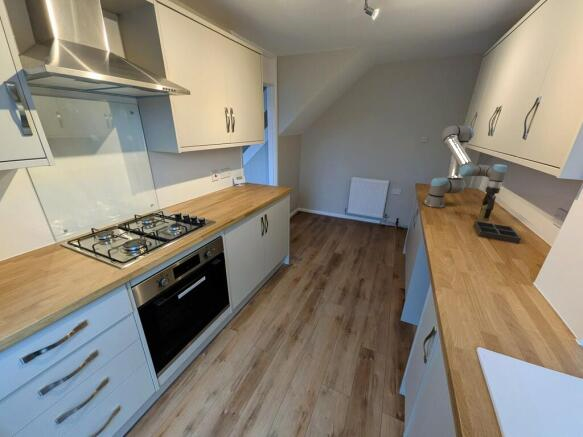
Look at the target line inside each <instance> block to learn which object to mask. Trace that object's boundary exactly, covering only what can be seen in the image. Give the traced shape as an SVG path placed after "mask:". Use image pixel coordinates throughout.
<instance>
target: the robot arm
mask: <svg viewBox="0 0 583 437" xmlns="http://www.w3.org/2000/svg"><path fill="white" fill-rule="evenodd" d="M474 134H475V131H474V128H472V127H471V126H470V125H449V126H447V127H446V128H445V129H444V130H443V131H442V133H441V141H442V143H443V145H446V146H447V147H448V149H449V152H450V153H451V156H450V164H449V169H448V175H446V177H441V176H440V177H434V178H432V180H431V182H430V185H429V190H428V193H427V196H426V198H425V200H424V201H423V205H424V206H426V207H430V208H434V209H435V208H436V209H443V208H444V207H445V196H446V194H460V193H461V192H463V191H464V190H465V187H466V182H465V180H464V177H487V178H488V181H486V183H487V186H486V187H485V191H484V192H485V196H484V198H483V200H482V205H481V208H480V211H479V213H480V212H481V210H482V206H483V205H488V207H487V208H486V212H485V215H484V218H486V219H487V220H489V219H490V216H491V214H492V211H494V207H495V202H496V198H497V196H496V194H500V191H501V188H502V186H503V181H504V178H505V176H506V174H507V171H508V170H507V169H508V165H506V164H500V163H496V164H493V166H491V165H486V164H478V165H475V164H473V162H472V160H471V158H470V157H469V155H468V154H467V152H466V146H467V145H468V144H469V141H471V140H472V139H473V138H474Z"/></svg>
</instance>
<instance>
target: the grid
mask: <svg viewBox="0 0 583 437" xmlns="http://www.w3.org/2000/svg"><path fill="white" fill-rule="evenodd" d="M473 227H474V230H475V233H477V236H478V237H481V238H485V239H490V240H496V241H502V242H508V243H513V244H518V245H519V244H520V243H521V240H522V237H521V236H520V235H519V233H518V232H517V231H516V230H515V229H514V228H513V226H510V225H504V224H496V223H492V222H491V223H490V222H486V221H480V220H475V221H474V223H473Z"/></svg>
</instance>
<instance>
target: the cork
mask: <svg viewBox="0 0 583 437" xmlns="http://www.w3.org/2000/svg"><path fill="white" fill-rule="evenodd" d="M487 207H488V205H487V204H486V205H483V206H482V205H481V208H482V210H481V209H480V211H481V212H480V211H479V214H478V216H477V218H476V219H477V221H480V222H488V219H486V218H484V215H485V212H486V208H487Z"/></svg>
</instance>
